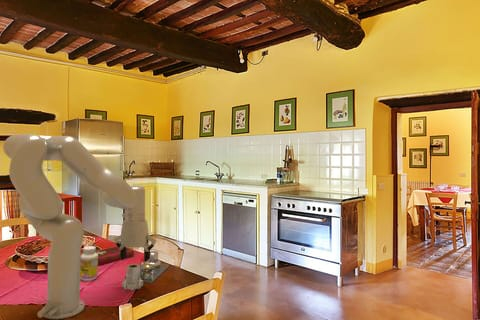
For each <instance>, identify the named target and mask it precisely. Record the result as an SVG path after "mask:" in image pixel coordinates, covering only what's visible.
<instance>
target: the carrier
mask: <svg viewBox="0 0 480 320" xmlns="http://www.w3.org/2000/svg"><path fill="white" fill-rule="evenodd" d="M138 265H139V266H140V278H141V280H143V283H148V284H149V283H154V282H155V281H156V279H158V278H159V277H160V276H161V275H162V274H163V273H164V272H165V271H166V270H167V269H168V268H169V265H170V264H169V263H162V262H161V260H160V259H159V251H155V250H154V251H153V250H150V259H149V260H148V261H147V262H145V261H141V262H140V264H138ZM125 279H126V275H125V276H124V280H125Z"/></svg>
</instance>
